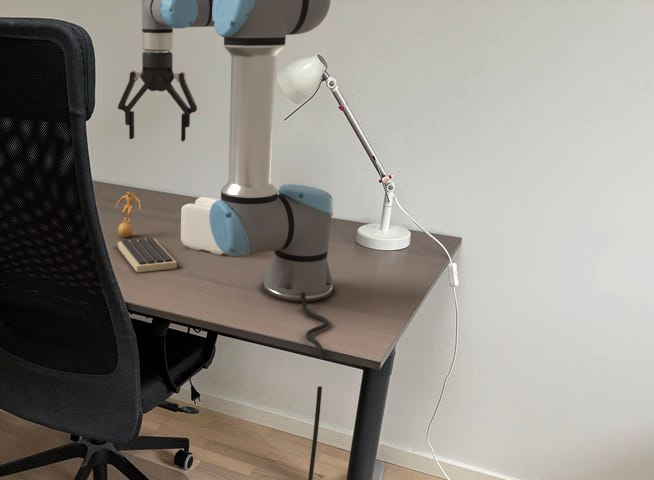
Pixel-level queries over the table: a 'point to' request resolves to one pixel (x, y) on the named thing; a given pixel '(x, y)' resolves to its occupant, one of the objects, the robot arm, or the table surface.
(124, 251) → the keyboard
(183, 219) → the cable organizer
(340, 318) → the table surface
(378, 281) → the table surface
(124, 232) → the figurine
